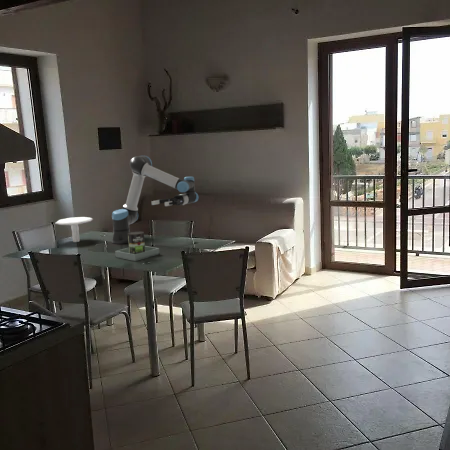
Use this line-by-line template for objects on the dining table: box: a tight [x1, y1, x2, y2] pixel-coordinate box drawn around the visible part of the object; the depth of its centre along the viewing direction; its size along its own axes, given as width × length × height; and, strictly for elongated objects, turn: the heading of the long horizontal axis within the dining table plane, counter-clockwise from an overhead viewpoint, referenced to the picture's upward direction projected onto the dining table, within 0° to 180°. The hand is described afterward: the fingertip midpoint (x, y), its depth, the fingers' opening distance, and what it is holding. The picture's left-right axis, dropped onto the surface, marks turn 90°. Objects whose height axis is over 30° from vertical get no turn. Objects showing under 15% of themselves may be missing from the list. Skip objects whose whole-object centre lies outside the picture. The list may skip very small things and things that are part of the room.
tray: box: [114, 245, 160, 262], centre depth 313 cm, size 20×20×4 cm
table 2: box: [54, 216, 94, 243], centre depth 367 cm, size 28×28×17 cm
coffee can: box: [128, 230, 146, 254], centre depth 312 cm, size 10×10×14 cm
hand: (158, 203), depth 332 cm, fingers open, 13 cm apart
